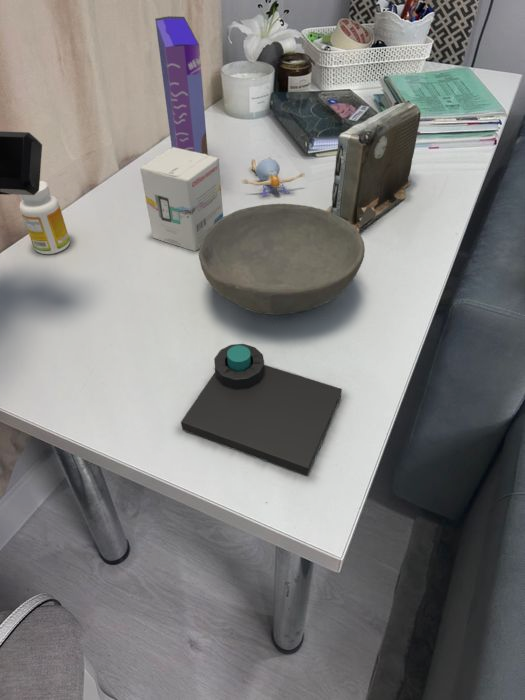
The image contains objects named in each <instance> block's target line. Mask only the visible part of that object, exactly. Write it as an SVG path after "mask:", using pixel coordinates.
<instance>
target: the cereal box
mask: <svg viewBox="0 0 525 700" xmlns="http://www.w3.org/2000/svg"><path fill="white" fill-rule="evenodd" d="M155 28H156V36H157V43H158V51H159V58H160V59H159V60H160V67H161V75H162V81H163V83H162V84H163V90H164V97H165V106H166V114H167V121H168V130H169V138H170V145H171V148H172V147H176V148H180V149H185V150H189V151H193V152H198V153H202V154H206V155H209V152H208V150H209V149H208V139H207V127H206V126H207V125H206V115H205V114H206V113H205V102H204V101H205V100H204V87H203V78H202V77H203V76H202V75H203V73H202V65H201V51H200V43H199V41H198V40H197V37H196V36H195V33H194V32H193V30H192V29H191V26H190V25H189V23H188V21H187V19H186V17H185V16H173V15H172V16H171V15H168V16H161V17H157V18H155Z"/></svg>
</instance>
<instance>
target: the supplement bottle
mask: <svg viewBox="0 0 525 700" xmlns="http://www.w3.org/2000/svg"><path fill="white" fill-rule="evenodd" d="M50 191H51V190H50V188H49V185H48V183H47V182H46V181H44V180H40V184H39V191H38V192H37V193H36V194H35V195H19V198H21V201H20V203H19V211H20V214H21V216H22V219H23V222H24V225H25V228H26V230H27V234H28V235H29V238H30V241H31V244H32V246H33V249H34V250H35V251H36V252H37V253H39V254H41V255H42V254H43V255H54V254H57V253H61V252H62V251H64V250H65V249H67V248H68V247H69V245H70V242H71V240H70V236H69V233H68V229H67V225H66V223H65V220H64V216H63V212H62V209H61V206H60V203H59V201H58V199H57V198H56V196H54V195H51V192H50Z"/></svg>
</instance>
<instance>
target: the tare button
mask: <svg viewBox="0 0 525 700" xmlns="http://www.w3.org/2000/svg"><path fill="white" fill-rule="evenodd" d="M227 361H228V366H229V368H230V369H232V370H234V371H244V370H246V369H248V368H249V367H250V365H251V352H250V350H249V349H248V348H247V347H245V346H241V345H237V346H233V347H231V348H230V349H229V350H228V352H227Z"/></svg>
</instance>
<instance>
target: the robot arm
mask: <svg viewBox="0 0 525 700" xmlns="http://www.w3.org/2000/svg"><path fill="white" fill-rule="evenodd" d="M42 154H43V143H41V142H40V140H39V139H38V138H36V137H35V136H34V135H33V134H32V133H30V132H29V131H28V132H27V131H26V132H25V131H1V130H0V195H4V196H11V195H17V196H18V195H19V196H20V195H35V194H36V193H37V192H38V191H39V184H40V181H41V166H42Z"/></svg>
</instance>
